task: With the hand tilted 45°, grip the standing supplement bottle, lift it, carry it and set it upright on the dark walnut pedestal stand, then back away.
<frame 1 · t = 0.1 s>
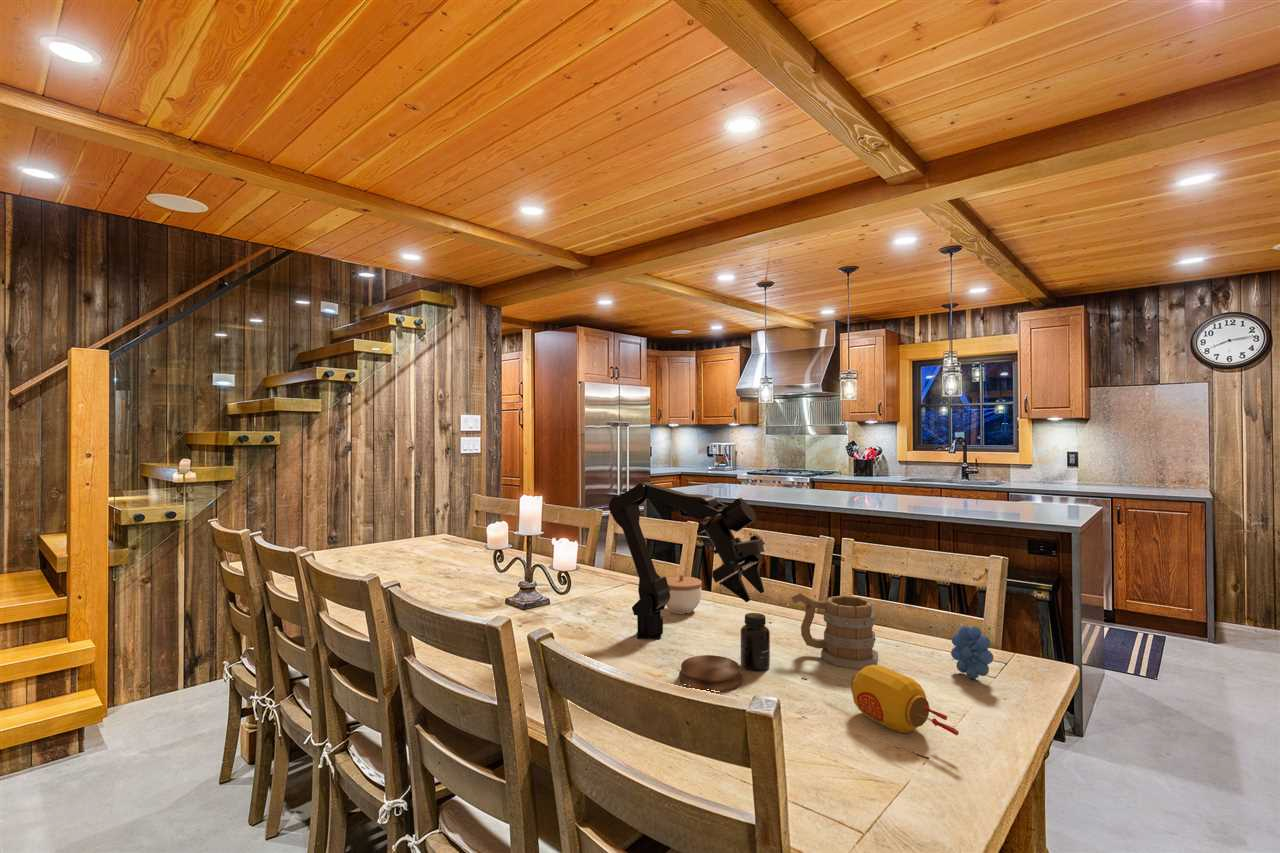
hand: (755, 596, 150), 15 cm above the table, tool tilted 35°, fingers open, 9 cm apart
tankard: (833, 657, 150), on the table
pedestal stand: (710, 679, 137), on the table
grapes: (975, 678, 136), on the table
lidded bowl: (681, 611, 189), on the table
lantern: (888, 723, 116), on the table
supplement bottle: (755, 667, 144), on the table
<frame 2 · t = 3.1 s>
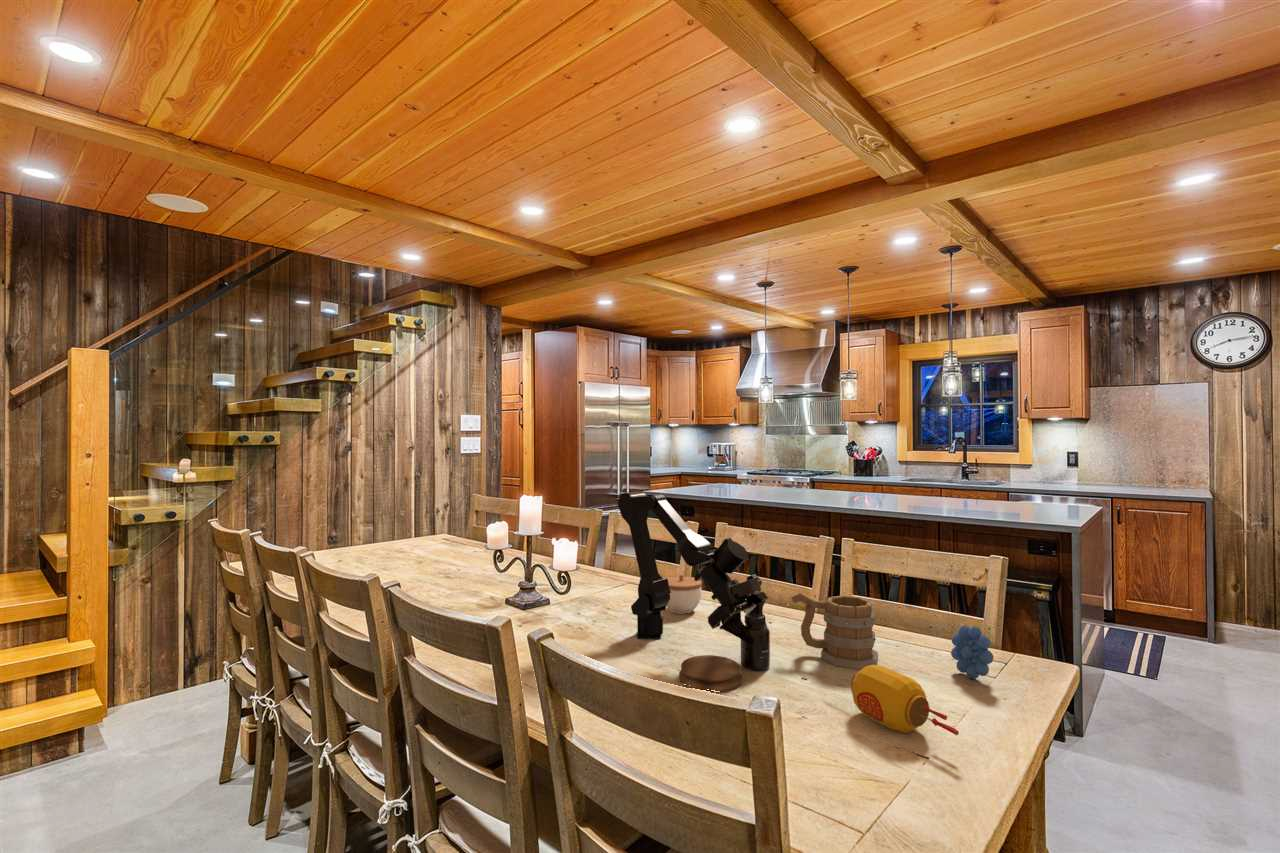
hand: (760, 639, 143), 7 cm above the table, tool tilted 45°, fingers closed on supplement bottle, 7 cm apart
supplement bottle: (755, 667, 144), on the table, touching gripper
everything else where it was.
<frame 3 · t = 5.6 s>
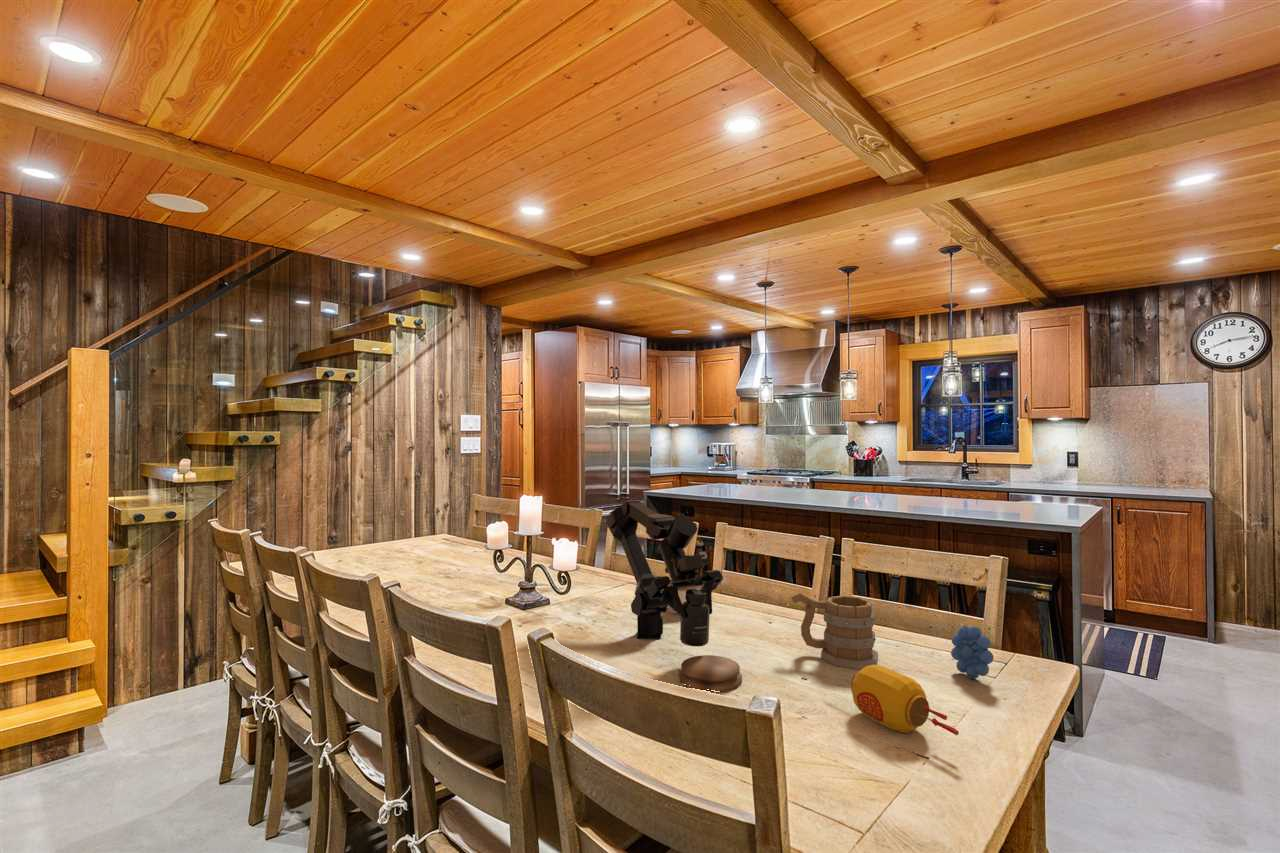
hand: (698, 615, 144), 12 cm above the table, tool tilted 45°, fingers closed on supplement bottle, 7 cm apart
supplement bottle: (694, 642, 145), point 5 cm above the table, touching gripper
everything else where it was.
when the fingers open (11 cm above the table, at t = 8.0 s): supplement bottle drops 1 cm, resting on pedestal stand.
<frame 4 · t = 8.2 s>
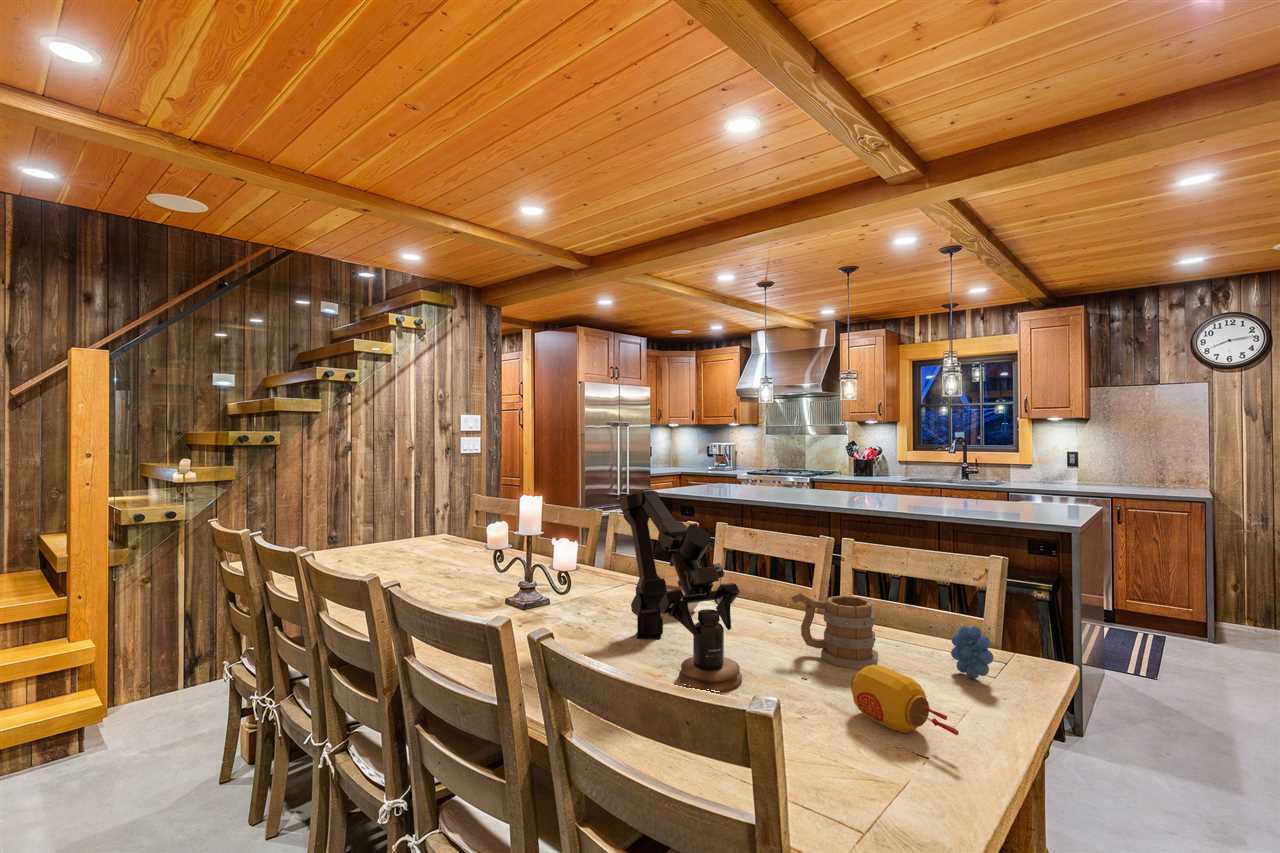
hand: (712, 631, 136), 11 cm above the table, tool tilted 45°, fingers open, 8 cm apart
supplement bottle: (708, 666, 137), point 3 cm above the table, touching pedestal stand
everything else where it was.
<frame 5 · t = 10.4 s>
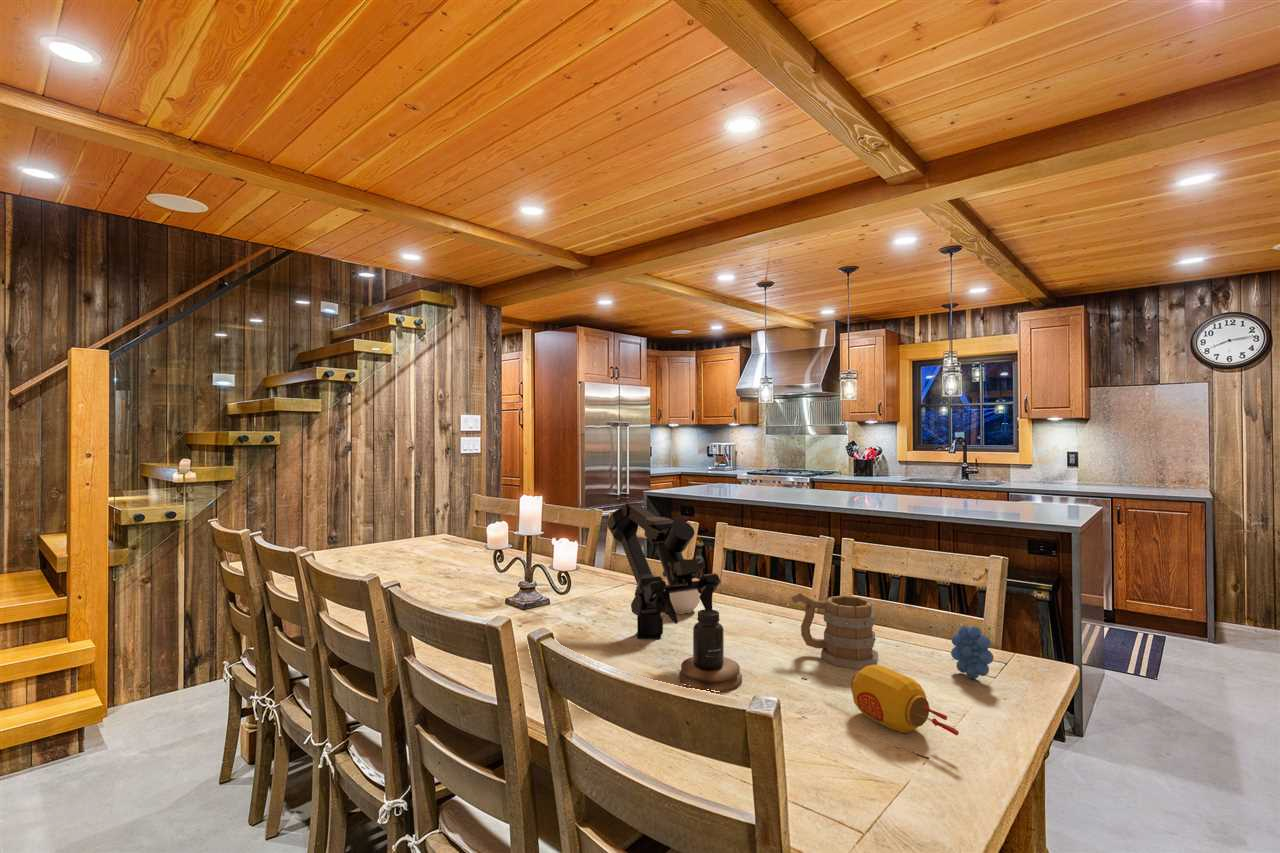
hand: (694, 619, 144), 11 cm above the table, tool tilted 45°, fingers open, 9 cm apart
nothing on the table moved.
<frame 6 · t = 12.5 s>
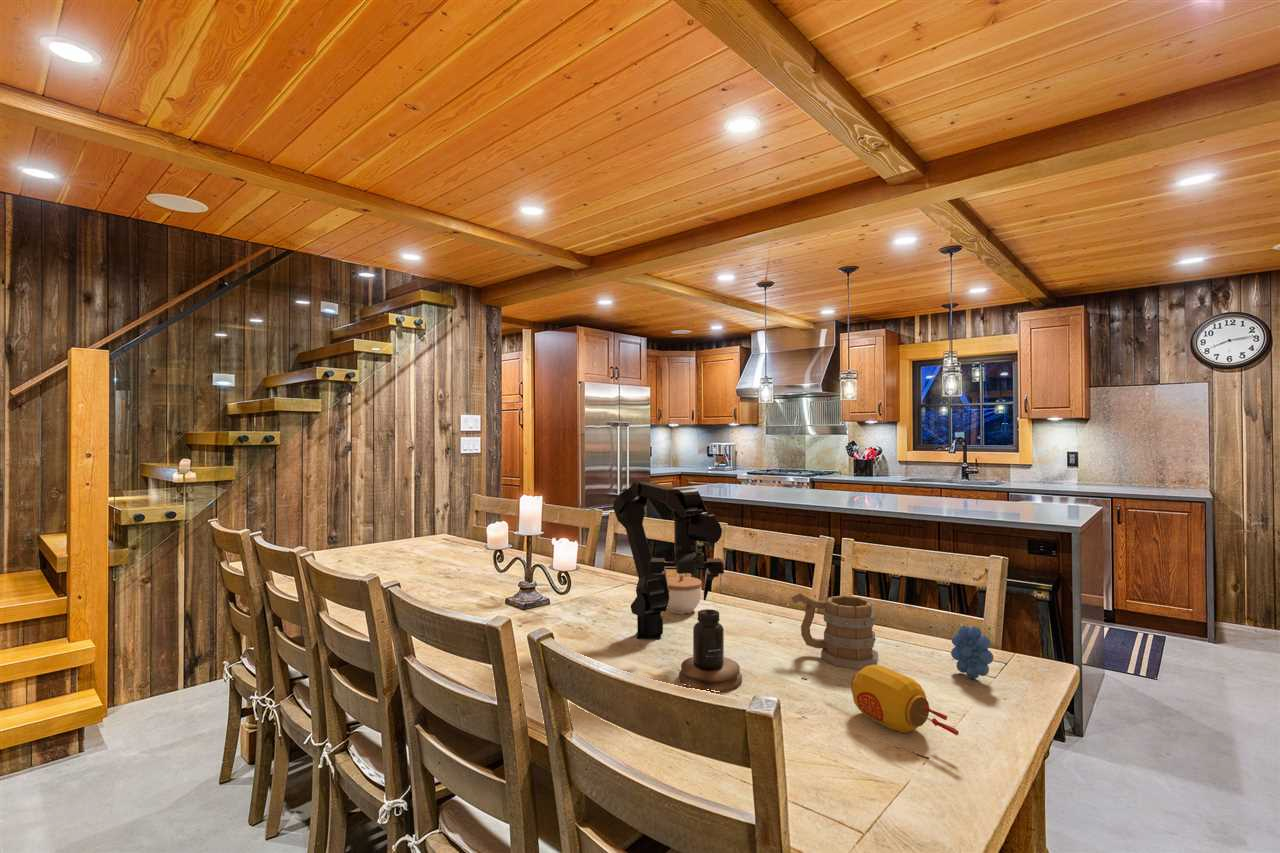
hand: (686, 599, 154), 13 cm above the table, tool pointing down, fingers open, 9 cm apart
nothing on the table moved.
at the end: supplement bottle inside the target area on the pedestal stand (0.4 cm from its centre), point 2.8 cm above the pedestal stand's base; supplement bottle tilted 0°; the gripper is holding nothing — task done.
